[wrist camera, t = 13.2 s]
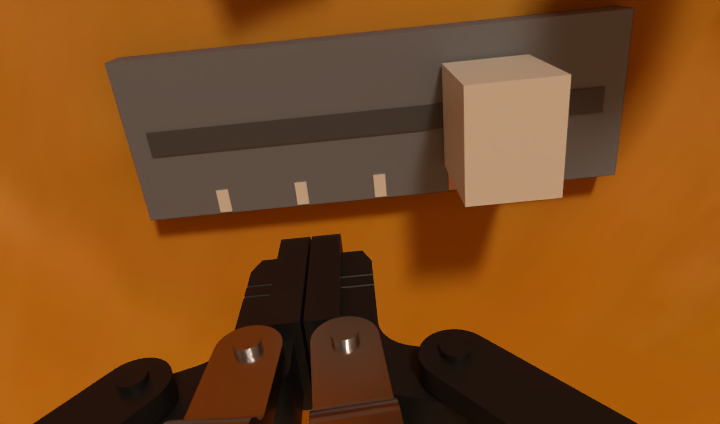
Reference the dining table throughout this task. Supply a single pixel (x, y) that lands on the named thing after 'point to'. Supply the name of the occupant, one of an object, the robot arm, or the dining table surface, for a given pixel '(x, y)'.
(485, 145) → the knob
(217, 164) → the board
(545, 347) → the dining table surface
